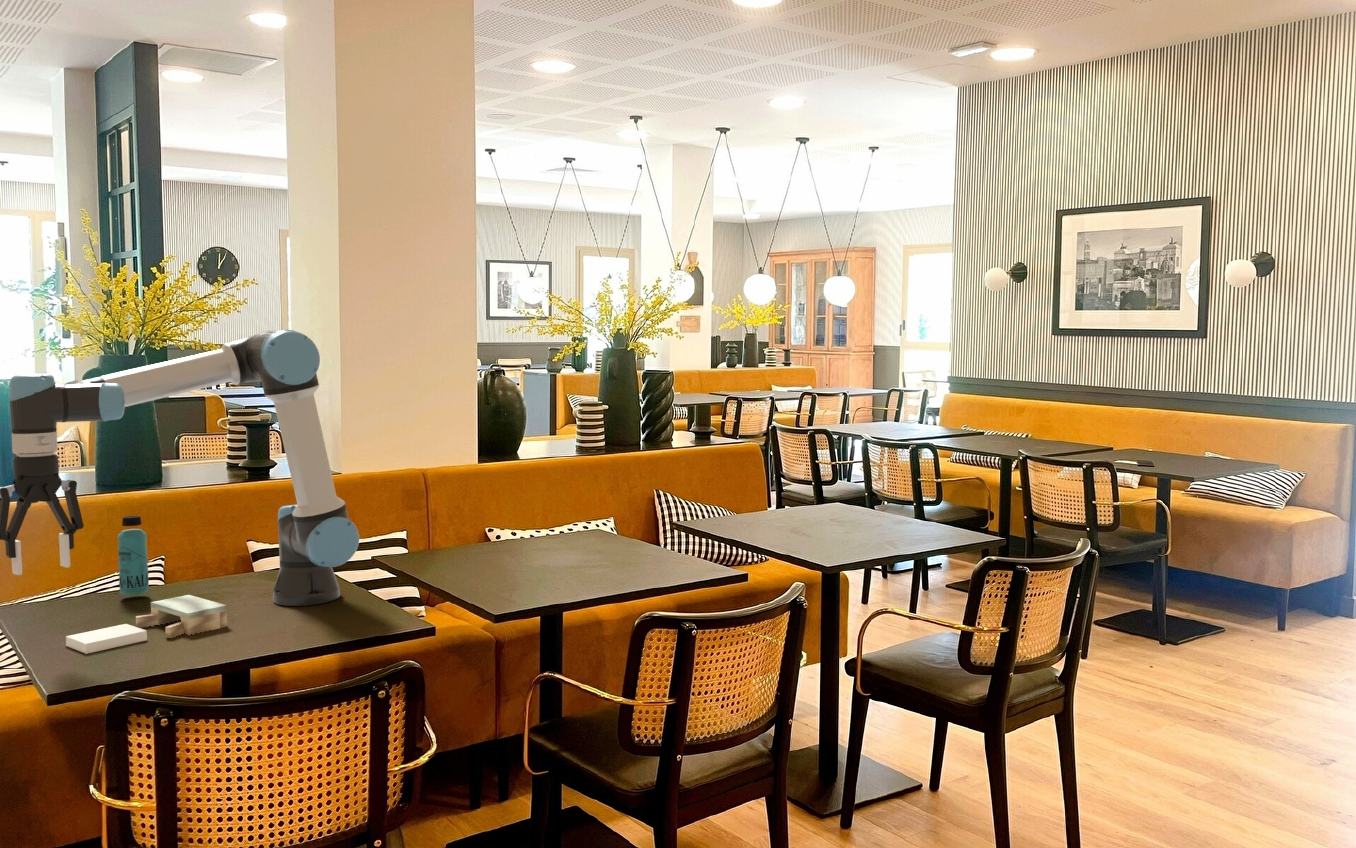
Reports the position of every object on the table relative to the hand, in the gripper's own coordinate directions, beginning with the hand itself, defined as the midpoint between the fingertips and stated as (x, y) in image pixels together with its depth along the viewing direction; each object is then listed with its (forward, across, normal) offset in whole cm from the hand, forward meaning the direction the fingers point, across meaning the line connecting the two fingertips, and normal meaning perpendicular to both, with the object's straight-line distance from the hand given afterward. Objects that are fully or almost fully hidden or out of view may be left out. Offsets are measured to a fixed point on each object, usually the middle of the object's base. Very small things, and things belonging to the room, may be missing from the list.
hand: (41, 570), depth 208 cm
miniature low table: (+17, +27, 0) cm, 32 cm away
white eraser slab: (+17, +12, 0) cm, 21 cm away
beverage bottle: (+17, +33, +34) cm, 51 cm away
